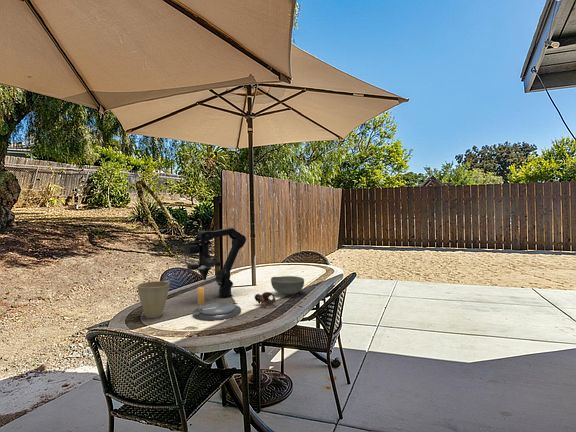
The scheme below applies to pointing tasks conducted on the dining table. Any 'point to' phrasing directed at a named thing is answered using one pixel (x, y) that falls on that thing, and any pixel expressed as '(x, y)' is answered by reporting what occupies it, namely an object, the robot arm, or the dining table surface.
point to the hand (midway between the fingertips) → (204, 280)
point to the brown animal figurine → (265, 299)
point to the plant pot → (153, 297)
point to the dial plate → (216, 317)
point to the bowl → (287, 284)
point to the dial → (213, 306)
